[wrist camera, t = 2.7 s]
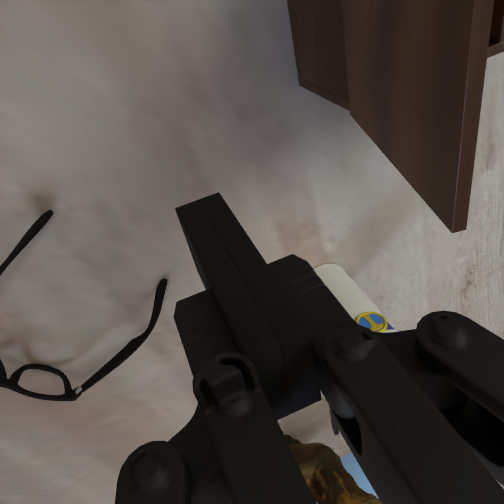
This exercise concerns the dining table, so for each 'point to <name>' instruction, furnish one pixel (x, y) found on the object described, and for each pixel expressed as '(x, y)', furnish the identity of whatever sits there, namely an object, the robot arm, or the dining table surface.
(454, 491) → the robot arm
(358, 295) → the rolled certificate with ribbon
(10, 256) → the glasses
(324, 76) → the chest
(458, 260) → the dining table surface
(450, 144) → the brown flat panel
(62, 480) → the dining table surface
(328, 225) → the dining table surface
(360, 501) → the pottery vessel
